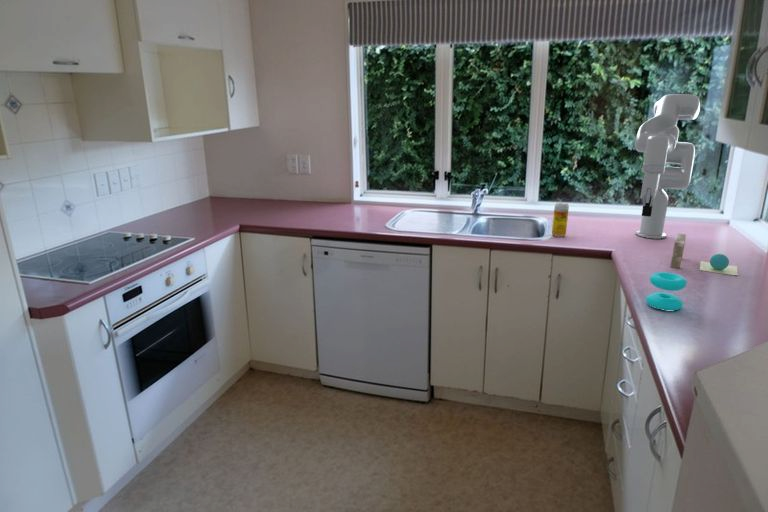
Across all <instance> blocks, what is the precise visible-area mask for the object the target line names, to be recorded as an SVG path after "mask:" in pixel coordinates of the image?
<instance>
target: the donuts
mask: <svg viewBox="0 0 768 512" xmlns="http://www.w3.org/2000/svg"><path fill="white" fill-rule="evenodd" d="M649 282H650V284H652V286H654V287H656V288H657V289H660V290H664V291H671V292H673V291H675V292H676V291H680V290H683V289H684V288H685V287H687V283H688V281H687V280H686V278H685V277H683V276H681V275H680V274H677V273H673V272H667V271H665V272H664V271H659V272H658V271H657V272H655V273H653V274H651V275H650V277H649ZM645 301H646V304H647V305H648V304H649V305H651V306H653V307H656V308H659V309H664V310H678V309H680V310H681V309H682V308H683V305H684V303H683V301H682V299H681V298H680V297H678V296H677V295H674V294H673V293H668V292H662V291H661V292H653V293H650V294H649V295H648V296H646V300H645ZM649 305H648V306H649ZM651 306H650V307H651ZM678 311H679V310H678Z"/></svg>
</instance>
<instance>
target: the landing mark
mask: <svg viewBox="0 0 768 512" xmlns="http://www.w3.org/2000/svg"><path fill="white" fill-rule="evenodd" d="M701 270H702V272H708V273H715V274H723V275H728V276H734V275H737V276H736V277H738V275H739V272H738V265H729V264H728V266H727V267H726V268H725V269H723V270H716V269H714V268H713V267H712V266H711V265H710V261H700V264H699V271H701Z"/></svg>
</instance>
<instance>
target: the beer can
mask: <svg viewBox="0 0 768 512" xmlns="http://www.w3.org/2000/svg"><path fill="white" fill-rule="evenodd" d="M569 207H570V206H569V203H568V202H563V201H557V202H555V204H554V209H553V219H552V228H551V234H552V236H553V235H554V237H556V236H557V238H563V236H564V237H565V236H566V235H567V227H568V219H569V218H568V217H569V209H570V208H569Z"/></svg>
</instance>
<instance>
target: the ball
mask: <svg viewBox="0 0 768 512" xmlns="http://www.w3.org/2000/svg"><path fill="white" fill-rule="evenodd" d="M709 262H710V265H711V266H712V267H713V268H714V269H716V270H723V269H725V268H726V267H727V266H728V265H729V264H730V260H729V258H728V256H727V255H725V254H722V253H716V254H714V255H712V256H711V257H710V260H709Z"/></svg>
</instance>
